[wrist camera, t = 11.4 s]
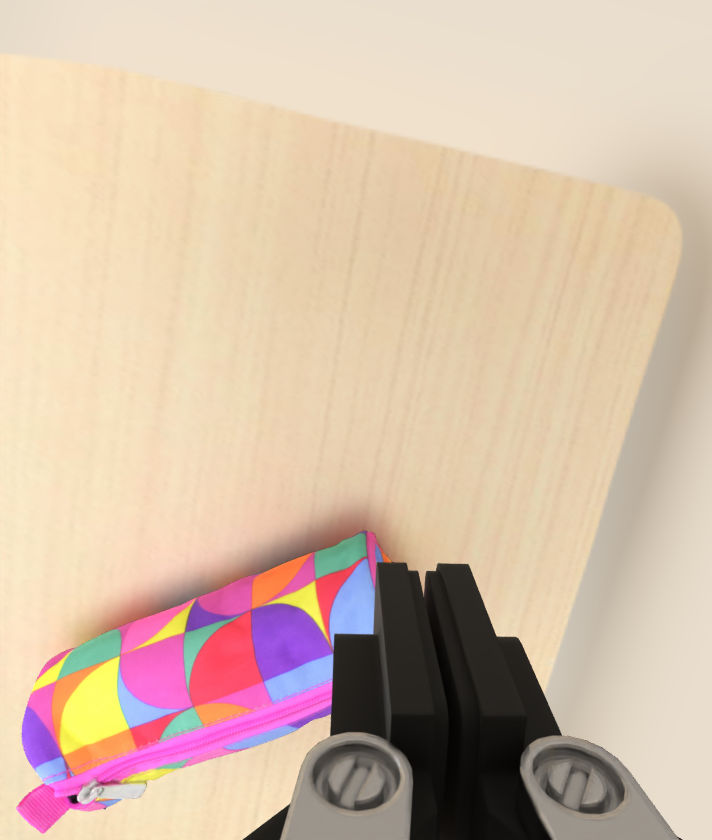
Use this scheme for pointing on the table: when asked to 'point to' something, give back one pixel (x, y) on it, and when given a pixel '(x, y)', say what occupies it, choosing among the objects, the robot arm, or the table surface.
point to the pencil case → (194, 680)
